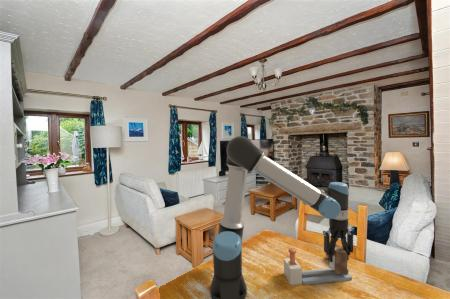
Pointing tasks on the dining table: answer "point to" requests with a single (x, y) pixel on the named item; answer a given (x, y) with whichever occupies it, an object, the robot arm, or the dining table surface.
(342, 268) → the carriage
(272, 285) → the dining table surface
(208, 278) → the dining table surface
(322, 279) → the rail board
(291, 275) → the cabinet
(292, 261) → the plunger
